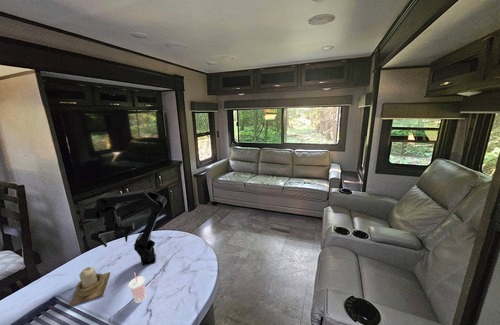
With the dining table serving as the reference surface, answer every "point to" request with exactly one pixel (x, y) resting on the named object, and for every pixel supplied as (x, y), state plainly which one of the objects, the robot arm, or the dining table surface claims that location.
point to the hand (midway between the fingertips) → (116, 244)
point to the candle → (88, 277)
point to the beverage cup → (138, 288)
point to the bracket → (90, 290)
